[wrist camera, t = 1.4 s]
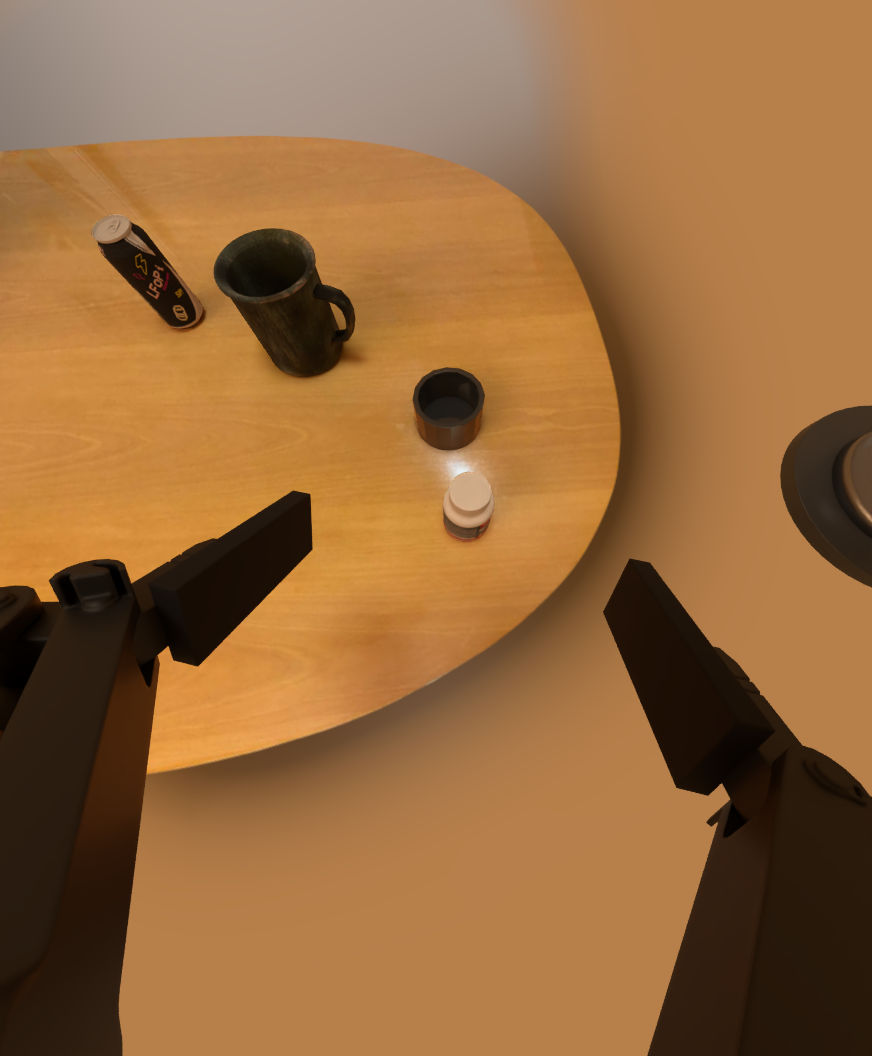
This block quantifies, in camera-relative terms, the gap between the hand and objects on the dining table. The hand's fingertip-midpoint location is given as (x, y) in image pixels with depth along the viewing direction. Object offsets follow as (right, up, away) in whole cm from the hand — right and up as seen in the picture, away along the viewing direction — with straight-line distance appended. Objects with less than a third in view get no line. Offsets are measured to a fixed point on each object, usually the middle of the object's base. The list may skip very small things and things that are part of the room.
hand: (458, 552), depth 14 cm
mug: (-18, +26, +34) cm, 46 cm away
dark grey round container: (+1, +15, +29) cm, 33 cm away
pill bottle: (+3, +2, +26) cm, 26 cm away
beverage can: (-39, +33, +37) cm, 63 cm away
